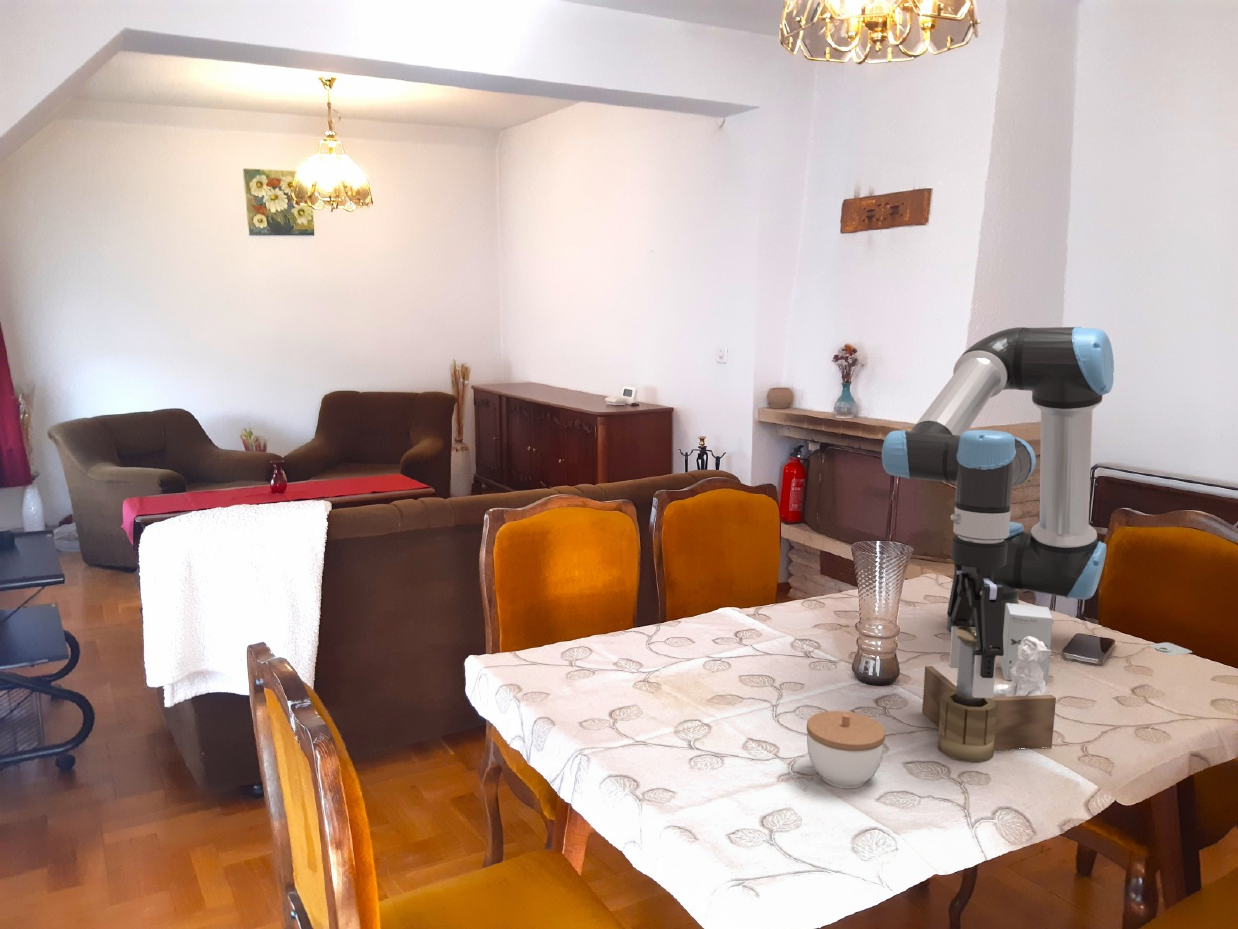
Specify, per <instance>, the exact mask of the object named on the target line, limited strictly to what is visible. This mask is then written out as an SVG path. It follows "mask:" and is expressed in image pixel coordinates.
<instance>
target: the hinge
mask: <svg viewBox="0 0 1238 929" xmlns="http://www.w3.org/2000/svg"><path fill="white" fill-rule="evenodd" d="M933 666H934V665H927V666H924V677H923V678H924V680H923V691H922V692H923V694H922V696H923V697H922V708H921V711H922V712H921V713H922V714H923V715H925V716H926V718H928V719H929V720H930V721H931V722H932V723H933V724H934V725H935V726H936V727H937V728H938V742H937V744H938V745H937V748H938V750H939V751H940V752H941V753H943V754H944V755H945V756H947V757H948V758H952V759H954V760H957V761H960V762H961V761H962V762H967V763H984V762H987V761H990V760H991V759H993V757H994V753H995V752H994V751H1012V749H1017V750H1022V749H1021V748H1026V749H1025V750H1028V749H1027V748H1038V749H1049V748H1048V747H1052V748H1053V737H1054V726H1055V715H1056V713H1055V712H1056V705H1057V704H1056V702H1057V699H1056V697H1055V695H1052V694H1048V695H1034V696H1009V697H993V698H982V704H981V707H967V706H964V705H961V704H958V703H956V690H957V684H954V683H953V681H951V680H949V678H947V677H946V676H945V675H944V674H942V673H941V672H940V671H939V670H938V669H936V668H935V667H933ZM1042 747H1044V748H1042ZM1045 747H1047V748H1045ZM1019 748H1020V749H1019Z"/></svg>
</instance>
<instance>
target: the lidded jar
mask: <svg viewBox="0 0 1238 929" xmlns="http://www.w3.org/2000/svg"><path fill="white" fill-rule="evenodd" d="M806 733H807V734H806V744H807V746H806V747H807V752H808V757H809V761H810V762H811V764H812V767H813V768H814V769H815V771H816V772H817V773H818V774H819V775H820V777H821V779H822V780H823V781H824V782H825V783H826V784H828V785H830V786H832V787H835V788H839V789H846V790H847V789H848V790H850V789H851V790H852V789H854V790H855V789H859V788H861V787H863V786H864V785H865V784H866V782H867V781H869V780H870V779H872V778H873V777H874V776H875V774H876V773H877V771H878V769H879V768H880V766H881V762H882V760H883V759H882V758H883V754H884V748H885V747H884V746H885V739H886V729H885V728H884V727H883V725H882V724H881V722H879V721H877V720H876V719H874V718H872V717H870V716H867V715H865V714H860V713H857V712H853V711H845V710H828V711H822V712H821V711H820V712H818V713H815V714H814V715H812V716H810V717H809V718H808V719H807V720H806Z"/></svg>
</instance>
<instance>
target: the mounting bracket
mask: <svg viewBox="0 0 1238 929" xmlns="http://www.w3.org/2000/svg"><path fill="white" fill-rule="evenodd" d="M1157 645H1159V646H1157ZM1147 646H1149V647H1151V648H1153V649H1155V650H1156V651H1157V652H1160V653H1164V654H1165V655H1166V656H1171V657H1172V656H1178V655H1185V654H1192V653H1193V651H1192V650H1190V649H1188V648H1184V647H1181V646H1179V645H1177V644H1174V643H1172V642H1160V643H1154V644H1148V645H1147ZM1161 646H1162V647H1161ZM1174 650H1176V651H1174Z"/></svg>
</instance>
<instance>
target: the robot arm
mask: <svg viewBox="0 0 1238 929" xmlns="http://www.w3.org/2000/svg"><path fill="white" fill-rule="evenodd" d="M952 372H953V373H952V376H951V378H950V379H949V380H948V382H947V383H946V384H945V386H944V387H943V388H942V389H941V390H940V392H939V394H937V396H936V397H935V399H934V400H933V401H932V402H931V404H930V405H929V406H928V408H927V409H926V411H925V412H924V413H923V414H922V415H921V417H920V418H919V420H918V421H917V422H916V423H915V424H914V426H913V427H912V428H911V429H910V431H908V430H906V429H903V430H893V431H890V432H889V433H887V435H886V437H885V439H884V440H883V445H882V449H881V462H882V466H883V469H884V471H885V473H887V475H890V476H892V477H893V476H894V477H895V476H896V477H899V478H900V477H901V478H905V479H908V480H910V479H913V480H914V479H915V480H923V481H924V480H925V481H936V482H945V483H952V484H955V496H954V497H955V498H954V513H953V514H951V515H950V520H951V521H953V533H954V534H955V535H954V537H952V539H951V554H950V555H951V557H950V559H951V561H952V562H954V564H953V566H954V570H953V573H954V574H953V577H952V578H953V580H952V585H951V590H950V596H949V601H948V606H947V611H946V614H947V615H946V616H947V620H946V628H947V630H948V631H949V632H950V646H949V648H950V649H949V659H948V660H949V661H948V667H949V668H950V669H958V661H959V646H960V639H959V638H957V629H958V628H960V627H975V628H976V636H977V645H978V650H975V651H974V652H973V654H974V655H975V662H974V677H973V691H972V696H973V697H974V698H993V695H994V685H995V681H996V680H995V678H996V664H997V657H1001V656H1003V655H1004V648H1003V630H1004V618H1005V604H1006V603H1012V604H1020V602H1019V590H1023V591H1027V592H1034V593H1039V594H1045V595H1051V596H1056V597H1063V598H1066V599H1075V600H1088V599H1091V598H1092V597H1093V596H1094V595H1095V592H1096V590H1097V589H1098V585H1099V582H1100V580H1101V575H1102V572H1103V570H1104V565H1105V561H1106V556H1107V544H1106V543H1104V542H1102V541H1098V533H1097V530H1096V529H1095V528H1094V526H1092V525H1090V523H1089V521H1090V519H1089V518H1090V517H1089V516H1090V495H1091V494H1090V492H1091V490H1090V489H1091V488H1090V486H1091V466H1092V465H1091V462H1092V461H1091V460H1092V459H1091V458H1092V436H1093V434H1092V432H1093V410H1094V409H1095V408H1096V407H1097V406H1099V405H1100V404H1101V403H1102V402H1103V396H1104V395H1106V394H1109V393H1110V392H1111V390H1112V389H1113V385H1114V373H1115V362H1114V353H1113V346H1112V342H1111V340H1110V338H1109V336H1108V334H1107V333H1106V332H1105V331H1104V330H1102V329H1100V328H1087V327H1086V328H1085V327H1081V326H1072V327H1071V326H1070V327H1069V326H1063V327H1059V326H1058V327H1057V326H1055V327H1025V326H1023V327H1011V328H1007V329H1003V330H1000V331H997V332H995V333H992V334H990V335H987V336H986V337H984V338H982V339H981V340H978V341H976V342H975V343H974V344H973V345H971V346H970V347H968V349H966V350H965V351H964V352H963V353H962V354H961V355H960V356H959V358H958V359H957V360H956V362H955V364H954V367H953V371H952ZM1003 390H1004V391H1005V390H1018V391H1029V392H1030V391H1031V401H1032V404H1033V405H1035V406H1036V407H1037V408H1038V409H1039V410H1040V444H1039V446H1040V448H1039V450H1040V453H1039V456H1040V458H1039V460H1040V461H1039V465H1040V466H1039V521H1038V523H1035V525H1033V526H1032V528H1031V530H1030V532H1025V527H1024V525H1023V524H1022V523H1020V522H1015V521H1011V511H1012V510H1011V504H1012V503H1011V501H1012V491H1013V490H1012V489H1013V488H1014V487H1017V486H1019V485H1021V484H1023V483H1025V481H1026V480H1028V478H1029V477H1030V476H1031V475H1032V474H1033V472H1034V470H1035V468H1036V464H1037V459H1036V458H1037V456H1036V454H1035V450H1034V449H1033V447H1032V446H1031V445H1030V444H1029V442H1027V441H1025V440H1024V439H1022V438H1020V437H1015V436H1014V435H1012V434H1011V433H1009V432H1006V431H1002V430H1001V431H1000V430H986V429H984V430H983V429H982V430H981V429H979V430H978V429H977V430H976V429H975V430H969V429H970V428H971V426H972V425H973V423H974V422H975V420H976V419H977V417H978V416H979V415H980V413H981V411H982V410H983V408H985V406H986V404H987V403H988V401H989V400H990V398H993V397H996V396H997V395H999V394H1000V393H1001V392H1002V391H1003Z"/></svg>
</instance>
